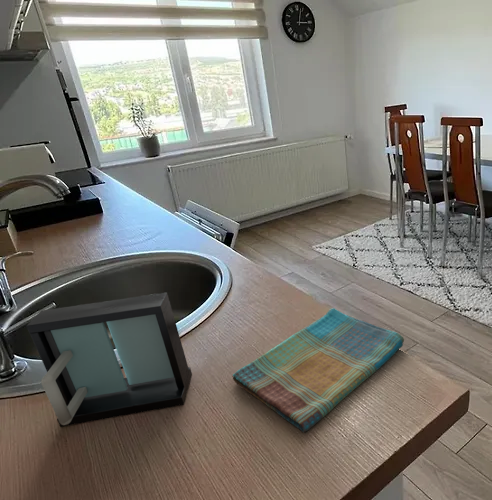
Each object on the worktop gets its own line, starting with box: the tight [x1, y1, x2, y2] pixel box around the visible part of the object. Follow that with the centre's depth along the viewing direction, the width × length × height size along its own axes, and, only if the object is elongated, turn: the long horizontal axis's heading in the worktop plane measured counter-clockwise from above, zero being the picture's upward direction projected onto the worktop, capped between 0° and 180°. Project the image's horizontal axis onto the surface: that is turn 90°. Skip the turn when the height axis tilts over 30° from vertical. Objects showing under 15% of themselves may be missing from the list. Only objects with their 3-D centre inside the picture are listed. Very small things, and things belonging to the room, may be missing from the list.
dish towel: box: [232, 307, 405, 433], centre depth 67 cm, size 17×23×2 cm
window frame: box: [25, 292, 193, 428], centre depth 60 cm, size 17×7×16 cm, turn 100°
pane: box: [40, 322, 128, 425], centre depth 57 cm, size 7×8×12 cm
